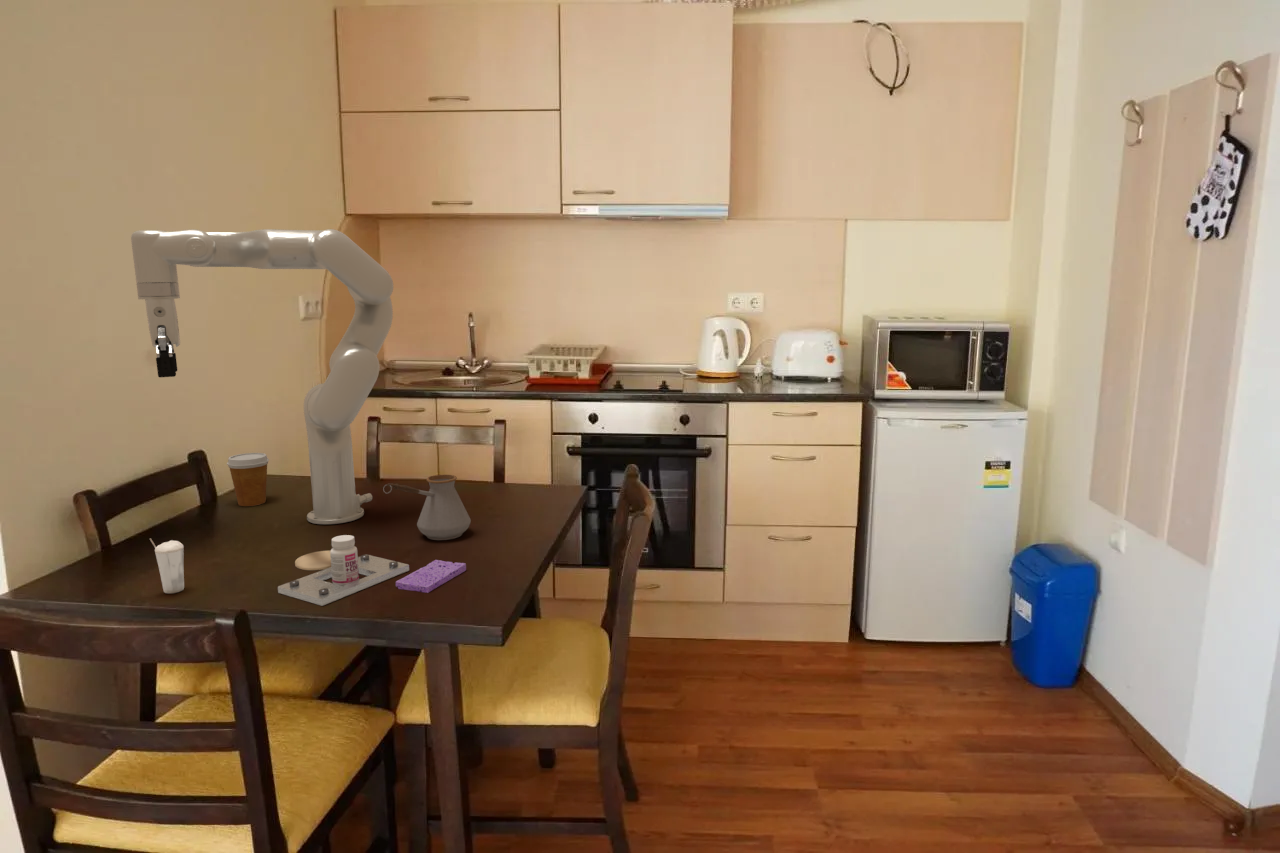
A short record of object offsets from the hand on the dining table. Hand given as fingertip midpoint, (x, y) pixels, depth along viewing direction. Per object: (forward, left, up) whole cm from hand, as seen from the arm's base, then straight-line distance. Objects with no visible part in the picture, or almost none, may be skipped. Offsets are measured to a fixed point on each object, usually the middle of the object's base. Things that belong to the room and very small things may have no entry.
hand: (168, 374), depth 175 cm
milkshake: (+19, +27, -36) cm, 49 cm away
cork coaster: (-5, +38, -36) cm, 53 cm away
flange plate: (0, +51, -36) cm, 63 cm away
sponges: (-9, +64, -37) cm, 75 cm away
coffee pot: (-25, +47, -36) cm, 65 cm away
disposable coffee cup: (-25, -14, -36) cm, 46 cm away
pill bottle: (0, +51, -36) cm, 63 cm away
